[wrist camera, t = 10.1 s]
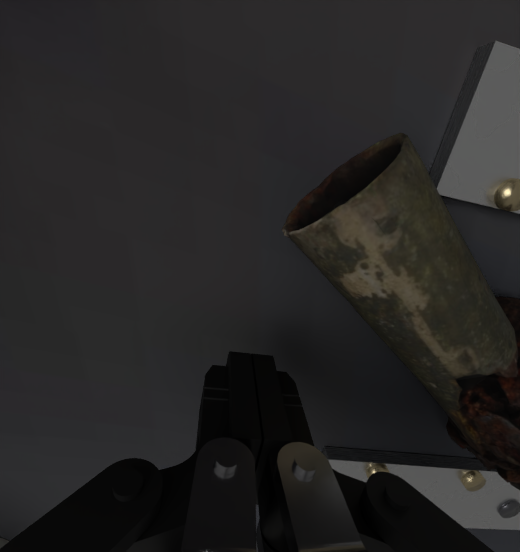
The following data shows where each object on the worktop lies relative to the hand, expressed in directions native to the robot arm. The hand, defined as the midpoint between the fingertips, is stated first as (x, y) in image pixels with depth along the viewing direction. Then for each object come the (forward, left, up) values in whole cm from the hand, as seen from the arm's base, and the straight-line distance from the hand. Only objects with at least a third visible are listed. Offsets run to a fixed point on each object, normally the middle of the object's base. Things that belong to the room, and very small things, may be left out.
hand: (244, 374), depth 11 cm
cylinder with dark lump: (-2, +9, -4) cm, 10 cm away
